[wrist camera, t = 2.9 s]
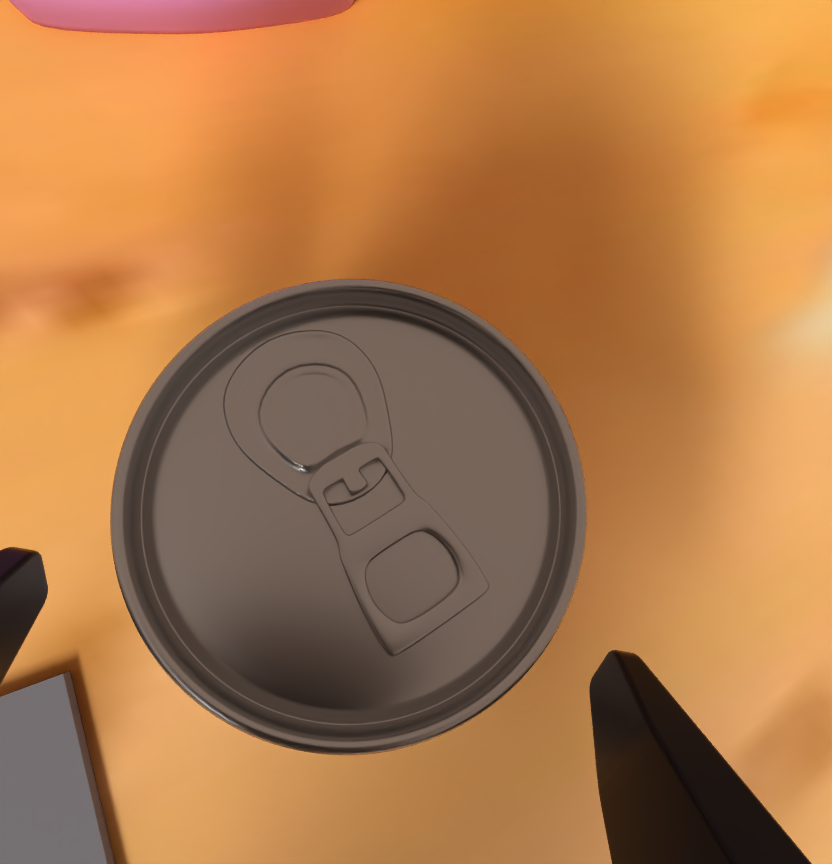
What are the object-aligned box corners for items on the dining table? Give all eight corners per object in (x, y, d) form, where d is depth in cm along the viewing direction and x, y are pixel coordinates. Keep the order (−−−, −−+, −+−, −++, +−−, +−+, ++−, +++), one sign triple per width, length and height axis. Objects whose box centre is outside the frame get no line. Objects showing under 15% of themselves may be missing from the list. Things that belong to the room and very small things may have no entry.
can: (381, 405, 19) (439, 172, 8) (482, 563, 18) (721, 577, 7) (212, 503, 18) (-38, 400, 6) (314, 680, 17) (251, 951, 5)
